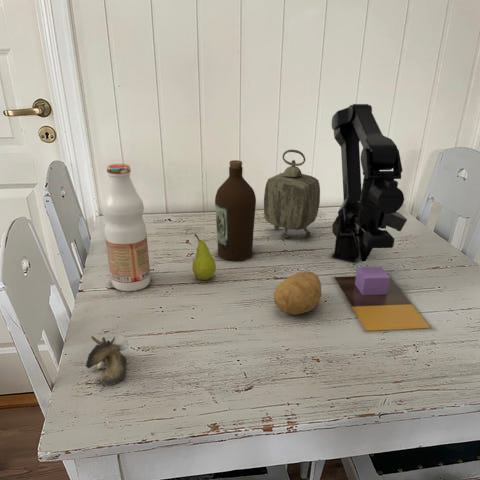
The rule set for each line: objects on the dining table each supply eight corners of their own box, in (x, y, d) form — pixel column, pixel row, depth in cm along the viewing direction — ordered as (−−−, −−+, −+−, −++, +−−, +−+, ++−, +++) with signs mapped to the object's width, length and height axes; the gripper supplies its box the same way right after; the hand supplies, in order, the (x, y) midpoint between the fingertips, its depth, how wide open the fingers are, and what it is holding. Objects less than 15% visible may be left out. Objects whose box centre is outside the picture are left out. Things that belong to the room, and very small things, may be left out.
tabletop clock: (316, 236, 146) (324, 150, 133) (302, 246, 140) (310, 156, 127) (274, 226, 153) (278, 143, 140) (259, 235, 146) (262, 149, 133)
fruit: (220, 278, 121) (220, 233, 115) (203, 286, 118) (202, 240, 111) (204, 271, 125) (203, 227, 118) (187, 279, 121) (185, 233, 115)
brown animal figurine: (81, 353, 91) (76, 375, 83) (98, 322, 90) (95, 340, 82) (118, 370, 94) (117, 392, 86) (136, 339, 92) (136, 359, 84)
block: (354, 283, 120) (357, 267, 117) (378, 283, 120) (381, 266, 118) (362, 295, 115) (365, 278, 112) (387, 294, 115) (390, 277, 113)
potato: (329, 301, 112) (333, 270, 108) (304, 329, 102) (308, 296, 98) (291, 291, 116) (293, 260, 112) (263, 317, 106) (265, 284, 102)
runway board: (334, 277, 123) (334, 277, 123) (388, 276, 124) (388, 275, 124) (352, 307, 110) (352, 306, 110) (411, 305, 111) (411, 304, 111)
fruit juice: (114, 294, 113) (98, 173, 99) (109, 277, 121) (93, 162, 106) (154, 288, 116) (144, 169, 102) (146, 272, 124) (136, 159, 109)
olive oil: (245, 244, 140) (246, 155, 127) (260, 258, 132) (264, 164, 119) (210, 250, 137) (208, 158, 124) (224, 265, 128) (223, 168, 115)
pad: (352, 307, 110) (352, 306, 110) (411, 305, 111) (411, 304, 111) (366, 331, 102) (366, 330, 102) (430, 328, 103) (430, 327, 103)
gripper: (422, 212, 106) (409, 276, 115) (391, 187, 122) (381, 245, 130) (373, 213, 105) (363, 277, 113) (348, 188, 121) (340, 246, 129)
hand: (363, 260), depth 122 cm, fingers closed
